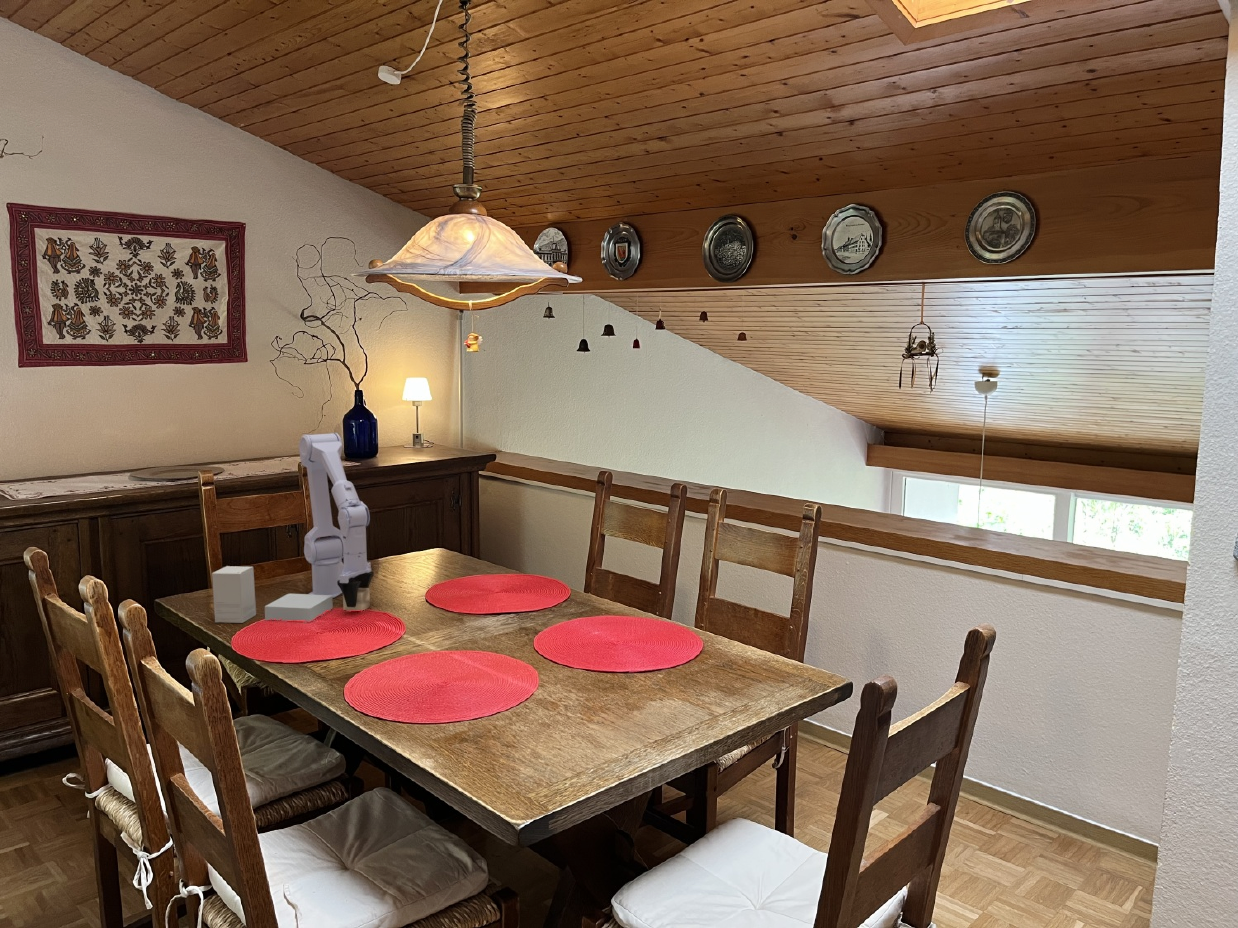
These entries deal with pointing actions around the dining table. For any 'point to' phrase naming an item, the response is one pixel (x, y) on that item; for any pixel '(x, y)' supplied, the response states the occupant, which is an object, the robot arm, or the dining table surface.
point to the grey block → (298, 607)
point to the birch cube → (360, 600)
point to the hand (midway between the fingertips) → (356, 603)
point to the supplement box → (234, 594)
